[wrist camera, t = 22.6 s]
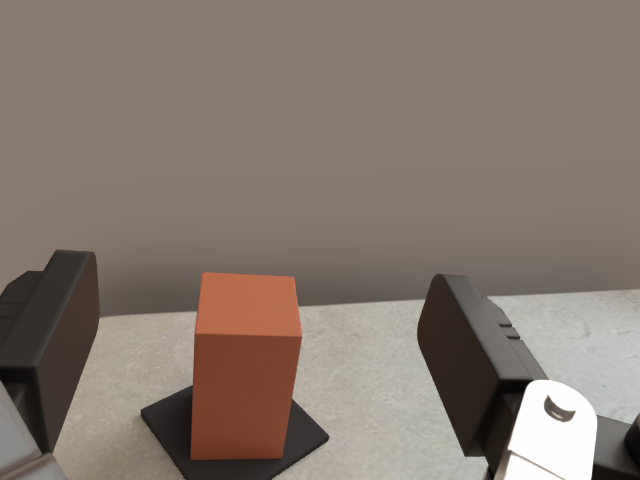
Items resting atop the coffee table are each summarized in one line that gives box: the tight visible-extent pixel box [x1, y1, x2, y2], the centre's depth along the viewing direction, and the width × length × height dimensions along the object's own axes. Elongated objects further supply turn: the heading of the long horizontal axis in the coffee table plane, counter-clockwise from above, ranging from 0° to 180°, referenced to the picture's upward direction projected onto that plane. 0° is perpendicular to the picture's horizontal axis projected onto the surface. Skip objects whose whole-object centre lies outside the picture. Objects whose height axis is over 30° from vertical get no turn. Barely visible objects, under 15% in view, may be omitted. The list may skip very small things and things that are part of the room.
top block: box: [191, 272, 302, 460], centre depth 28 cm, size 5×5×9 cm
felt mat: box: [141, 385, 329, 480], centre depth 31 cm, size 8×8×1 cm
